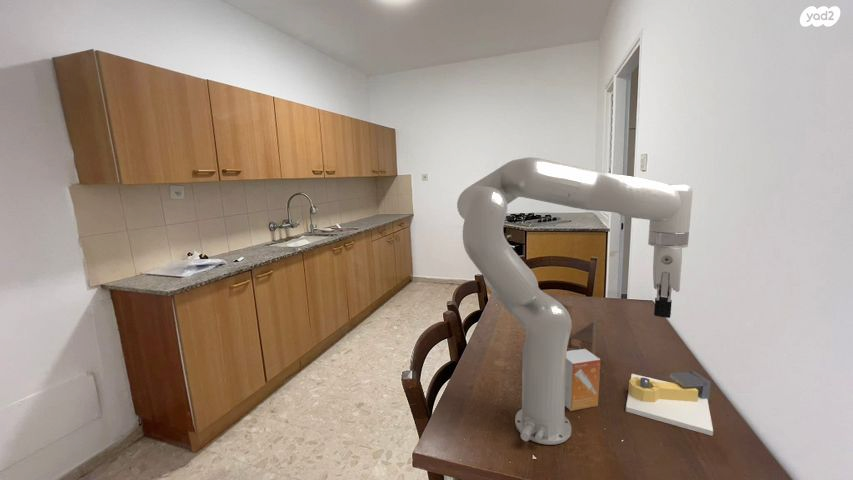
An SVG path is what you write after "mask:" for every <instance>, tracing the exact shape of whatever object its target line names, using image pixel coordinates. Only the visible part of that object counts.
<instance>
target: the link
mask: <svg viewBox="0 0 853 480" xmlns="http://www.w3.org/2000/svg"><path fill="white" fill-rule="evenodd" d="M640 380H641V378H640V377H634V378H632V379H631V378H630V379H629V381H628V393H629V392H630V394H631V396H632V397H634V398H636V399H638V400H641V401H643V402H656V401H657V400H658V399H665V400H678V401H692V402H697V401H698V390H697V389H696V388H695V387H683V386H682V385H680V384H679V383H677V382H670V383H666V382H667V381H666V382H654V381H652V380H650V384H649V388H642V387H640Z"/></svg>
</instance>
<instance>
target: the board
mask: <svg viewBox="0 0 853 480" xmlns="http://www.w3.org/2000/svg"><path fill="white" fill-rule="evenodd" d="M634 377H640V378H647V379H649V380H652V381H654V382H666V383H671V382H670V381H665V380H660V379H656V378H653V377H647V376H643V375H641V374H640V375H639V374H635V373H631V376H630V379H632V378H634ZM710 411H711V410H710V406H709V403H708V400H707V399H701V398H700V397H698V401H697V402H692V401H678V400H665V399H658V400H657V401H656V402H643V401H641V400H638V399H636V398H634V397H632V396H631V394H630V392H629V391H628V393H627V400H626V406H625V412H627V413H630V414H635V415H637V416H641V417H644V418H648V419H652V420H654V421H658V422H659V421H660V422H662V423H666V424H668V425H671V426H672V425H673V426H676V427H680V428H682V429H683V428H684V429H686V430H690V431H694V432H697V433H699V434H700V433H701V434H704V435H708V436H710V437H711V436H712V437H713V436H714V428H713V421H712V417H711V412H710Z"/></svg>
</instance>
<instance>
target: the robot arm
mask: <svg viewBox="0 0 853 480" xmlns="http://www.w3.org/2000/svg"><path fill="white" fill-rule="evenodd" d="M518 198H525V199H529V200H534V201H539V202H543V203H551V204H554V205H560V206H564V207H568V208H573V209H579V210H585V211H593V212H595V211H597V212H610V213H616V214H618V215H620V216H623V217H625V218H632V219H640V220H641V219H642V220H647V221H648V220H649V226H648V243H647V245H648V246H651V247H653V256H652V257H653V260H652V261H653V262H652V277H653V279H652V280H653V289H654V290H656V297H655V298H654V309H653V312H654V313H653V315H654V316H655V317H659V318H667V319H670V318H671V315H672V301H673V300H672V299H671V298H672V291H675V293H678V292H680V291H681V290H680V288H681V277H682V276H681V272H682V264H683V263H682V262H683V249H684V248H688V247H689V237H690V225H691V224H690V223H691V217H692V216H691V213H692V203H693V202H692V201H693V187H692V186H691V185H690V184H686V183H664V182H659V181H655V180H651V179H650V180H649V179H645V178H641V177H636V176H630V175H622V174H616V173H610V172H605V171H602V170H596V169H590V168H589V169H588V168H584V167H580V166H575V165H570V164H565V163H561V162H557V161H553V160H548V159H543V158H539V157H522V158H518V159H513V160H511V161H508V162H506V163H505V164H503V165H501V166H500V167H499V168H496V169H495V170H494V171H492V172H491V173H489V174H487V175H486V176H484V177H482V178H480V179H479V180H477V181H476V182H474V183H473V184H471V185H469V186H467V187H466V188H465V189H463V191H462V192H461V193H460V194H459V196H458V198H457V203H456V204H457V205H456V206H457V207H456V209H457V211H458V214H459V216H460V217H461V219H463V220H464V221H463V227H462V243H463V244H462V245H463V248H464V251H465V253H466V255H467V256H468V258H469V259H470V260H471V262H472V263H473V264H474V265H475V267H476V268H477V270H478V271H479V272H480V273H481V276H483V280H484V283H485V285H486V286H487V288H488V290H490V291H491V293H492V294H493V295H494V296H495V297H496V299H498V301H499V302H500V304H502V306H503V307H504V308H505V309H506V310H507V311H508V312H509V313H510V315H511V316H512V317H513V318H514V319H515V320H516V321H517V322H518V323H519V324H520V325H521V326H522V327H523V329H524V330H525V335H526V336H525V341H524V343H523V344H524V345H523V348H522V354H521V355H522V356H521V358H522V361H521V364H522V365H521V366H522V367H521V368H522V369H521V370H522V371H521V372H522V374H521V375H522V377H521V381H522V382H521V390H522V391H521V409H519V410H518V411H517V412H516V414H515V418H514V423H515V428H516V429H517V430H518V432H519V433H520V438H521V440H523V441H524V442H528V441H532V442H534V443H537V444H540V445H541V444H542V445H549V446H551V445H558V444H562V443H564V442H566V441H567V440H569V438H570V437H571V435H572V424H571V423H570V419H568V417H567V416H565V415H566V414H565V413H566V412H565V409H566V406H565V383H566V354H567V346H568V341H569V337H570V333H571V328H572V329H573V321H572V322H571V317H570V315H569V313H568V311H567V310H566V308H565V307H564V306H563V305H562V304H561V302H559V301H558V300H557V299H555V298H553V297H552V296H551V295H549V294H548V293H545V292H544V291H542V290H541V288H540V287H539V282H538V279H537V277H536V275H535V273H534V272H533V270H532V269H531V268H530V267H529V266H528V265H527V264H526V263H525V261H523V260H522V258H521V257H520V256H519V255H518V253H517V252H516V251H515V250H514V249H513V248H512V245H511V244H510V243H509V242H508V240H507V238H506V237H505V234H504V225H505V221H506V218H507V215H508V205H509V204H510V203H512V202H514V200H516V199H518Z"/></svg>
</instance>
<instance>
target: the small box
mask: <svg viewBox="0 0 853 480" xmlns="http://www.w3.org/2000/svg"><path fill="white" fill-rule="evenodd" d="M600 371H601V359H600V357H598V356H597V355H596V354H595V355H593V354H592V353H591V352H589V351H588V350H586V349H581V348H580V349H579V350H571V351H567V354H566V383H565V408H567V409H568V410H569V411H570V412H573V411H577V410H583V409H588V408H593V407H594V408H595V407H599V392H600V391H599V390H600V377H601V376H600V374H601V372H600Z"/></svg>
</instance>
